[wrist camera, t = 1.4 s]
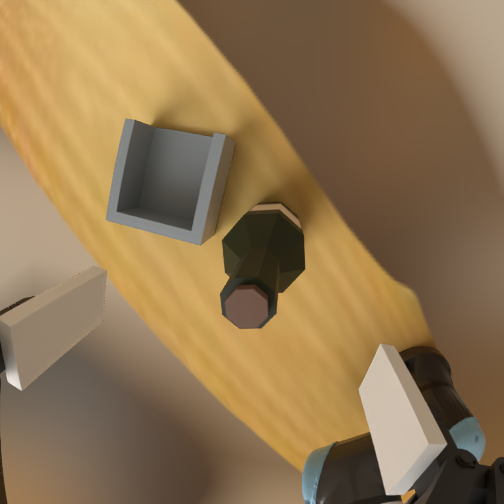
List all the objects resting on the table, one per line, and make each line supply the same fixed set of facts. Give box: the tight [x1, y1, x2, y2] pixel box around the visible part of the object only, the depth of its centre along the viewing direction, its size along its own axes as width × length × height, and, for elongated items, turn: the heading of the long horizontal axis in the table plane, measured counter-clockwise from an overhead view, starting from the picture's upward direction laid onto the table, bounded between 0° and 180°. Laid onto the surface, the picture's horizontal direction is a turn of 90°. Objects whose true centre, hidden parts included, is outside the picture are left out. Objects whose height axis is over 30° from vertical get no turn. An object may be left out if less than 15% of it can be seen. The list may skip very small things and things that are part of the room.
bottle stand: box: [106, 119, 236, 245], centre depth 42 cm, size 14×14×8 cm
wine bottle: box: [220, 202, 305, 329], centre depth 32 cm, size 8×8×30 cm
